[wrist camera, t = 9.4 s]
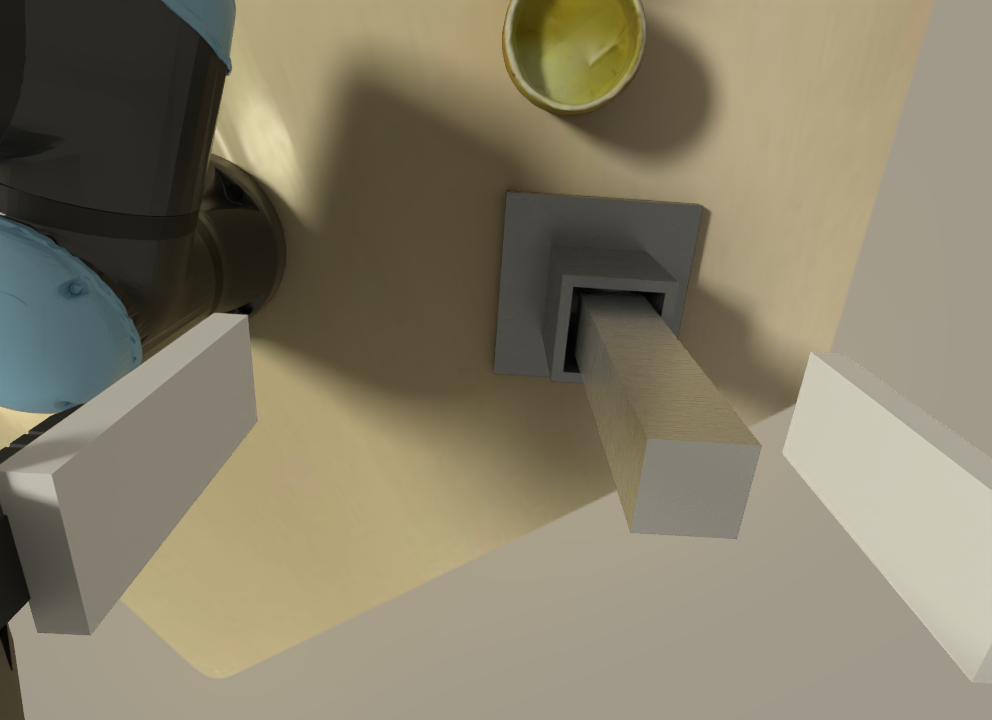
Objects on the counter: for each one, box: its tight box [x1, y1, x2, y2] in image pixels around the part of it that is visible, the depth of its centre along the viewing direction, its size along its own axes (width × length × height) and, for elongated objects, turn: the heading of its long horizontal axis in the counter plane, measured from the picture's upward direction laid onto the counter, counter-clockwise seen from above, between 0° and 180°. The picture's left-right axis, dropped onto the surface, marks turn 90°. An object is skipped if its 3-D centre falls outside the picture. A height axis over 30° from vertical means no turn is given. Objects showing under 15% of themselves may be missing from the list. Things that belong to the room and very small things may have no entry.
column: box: [573, 290, 762, 539], centre depth 36 cm, size 5×5×22 cm
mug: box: [502, 0, 646, 115], centre depth 42 cm, size 12×10×10 cm
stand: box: [494, 190, 703, 394], centre depth 48 cm, size 16×16×11 cm
